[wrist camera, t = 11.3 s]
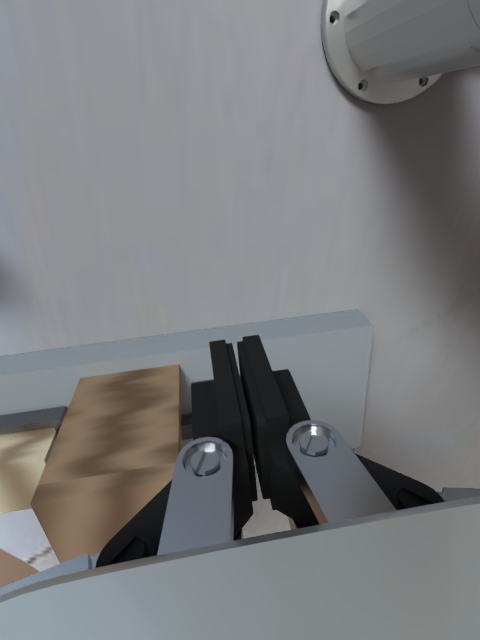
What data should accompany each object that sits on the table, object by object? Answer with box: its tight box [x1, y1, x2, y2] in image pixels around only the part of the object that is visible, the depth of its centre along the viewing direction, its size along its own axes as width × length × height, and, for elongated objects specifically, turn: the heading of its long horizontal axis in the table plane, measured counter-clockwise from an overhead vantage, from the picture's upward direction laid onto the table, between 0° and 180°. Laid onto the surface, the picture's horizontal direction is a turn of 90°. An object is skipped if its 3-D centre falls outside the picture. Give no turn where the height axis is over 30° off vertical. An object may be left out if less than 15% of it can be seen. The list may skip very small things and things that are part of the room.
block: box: [0, 427, 57, 513], centre depth 39 cm, size 6×6×6 cm
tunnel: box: [30, 364, 181, 564], centre depth 36 cm, size 10×15×14 cm, turn 4°
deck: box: [0, 309, 373, 465], centre depth 44 cm, size 45×18×4 cm, turn 94°
